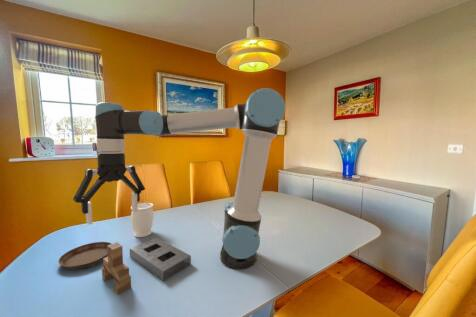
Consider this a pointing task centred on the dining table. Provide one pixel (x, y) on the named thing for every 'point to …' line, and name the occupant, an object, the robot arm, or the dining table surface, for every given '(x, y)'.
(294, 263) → the dining table surface
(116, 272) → the brown wooden branched block
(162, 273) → the grey slotted base block
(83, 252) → the plant saucer
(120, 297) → the dining table surface
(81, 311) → the dining table surface
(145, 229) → the jar
